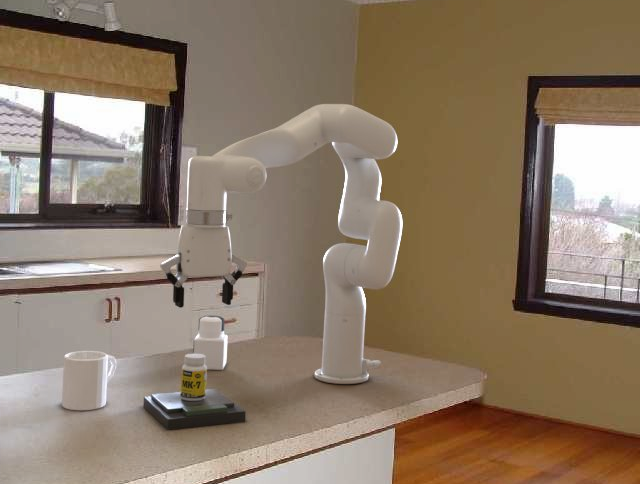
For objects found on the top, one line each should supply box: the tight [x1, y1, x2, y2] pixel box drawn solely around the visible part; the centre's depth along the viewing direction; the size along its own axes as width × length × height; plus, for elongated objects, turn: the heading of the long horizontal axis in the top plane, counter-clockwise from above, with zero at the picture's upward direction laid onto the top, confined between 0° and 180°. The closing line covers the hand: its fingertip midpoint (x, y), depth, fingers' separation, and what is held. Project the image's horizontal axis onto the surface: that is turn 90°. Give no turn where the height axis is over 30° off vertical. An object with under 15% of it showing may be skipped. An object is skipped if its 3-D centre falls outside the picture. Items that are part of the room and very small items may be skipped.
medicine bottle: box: [192, 314, 228, 371], centre depth 209 cm, size 7×7×12 cm
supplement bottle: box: [180, 353, 208, 401], centre depth 171 cm, size 5×5×8 cm
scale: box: [142, 395, 247, 431], centre depth 171 cm, size 15×16×3 cm
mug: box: [61, 350, 118, 411], centre depth 174 cm, size 8×12×10 cm
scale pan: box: [150, 388, 235, 413], centre depth 171 cm, size 13×11×1 cm
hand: (203, 305), depth 174 cm, fingers open, 9 cm apart
